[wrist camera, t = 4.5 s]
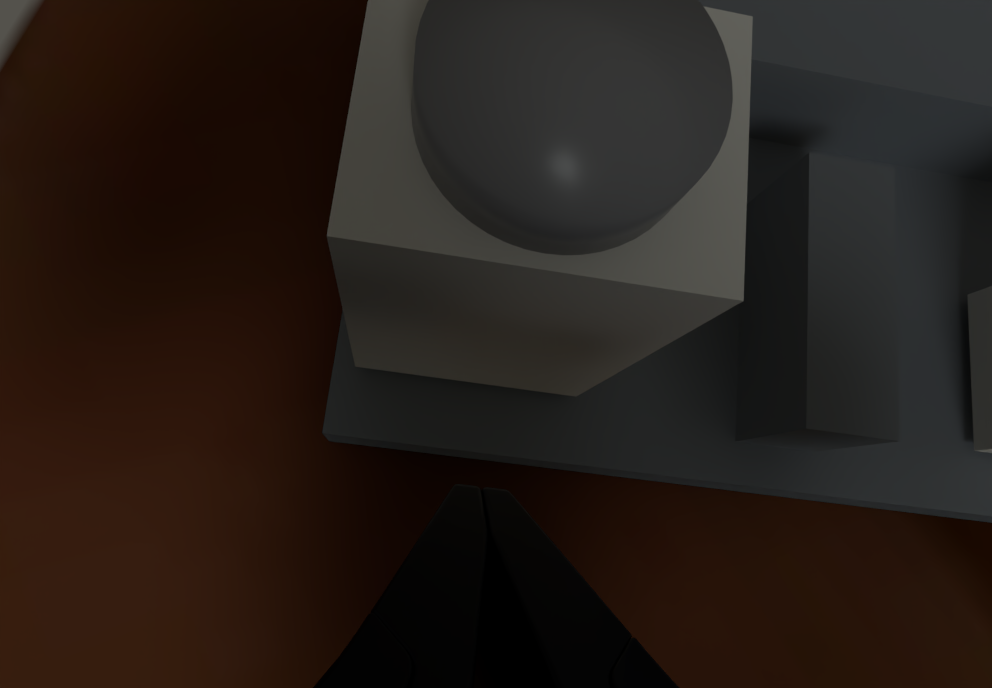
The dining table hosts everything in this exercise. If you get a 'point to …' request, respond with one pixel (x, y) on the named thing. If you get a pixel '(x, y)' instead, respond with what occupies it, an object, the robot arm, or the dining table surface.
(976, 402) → the button
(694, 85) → the button
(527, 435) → the switch panel
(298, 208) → the dining table surface
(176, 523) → the dining table surface
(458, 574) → the robot arm
